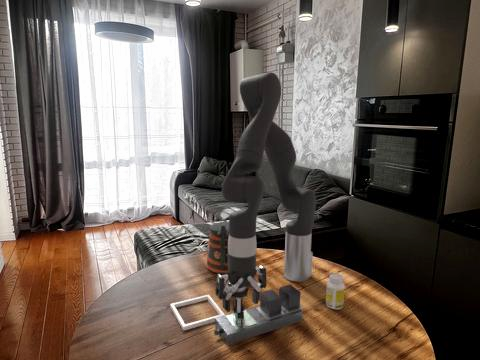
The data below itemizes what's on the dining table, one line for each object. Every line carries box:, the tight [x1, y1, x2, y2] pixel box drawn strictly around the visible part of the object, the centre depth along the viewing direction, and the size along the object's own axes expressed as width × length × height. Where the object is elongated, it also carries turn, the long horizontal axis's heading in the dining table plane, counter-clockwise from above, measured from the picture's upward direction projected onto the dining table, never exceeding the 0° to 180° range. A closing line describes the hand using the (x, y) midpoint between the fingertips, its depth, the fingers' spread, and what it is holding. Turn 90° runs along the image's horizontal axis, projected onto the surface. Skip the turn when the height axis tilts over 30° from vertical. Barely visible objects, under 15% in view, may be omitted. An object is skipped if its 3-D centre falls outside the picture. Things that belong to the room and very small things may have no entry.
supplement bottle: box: [325, 273, 346, 310], centre depth 105 cm, size 5×5×10 cm
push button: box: [231, 285, 249, 326], centre depth 92 cm, size 7×5×10 cm
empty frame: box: [169, 294, 226, 332], centre depth 101 cm, size 13×13×1 cm
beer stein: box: [206, 219, 229, 275], centre depth 128 cm, size 19×15×20 cm
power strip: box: [213, 284, 304, 346], centre depth 95 cm, size 27×8×8 cm, turn 117°
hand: (241, 306), depth 92 cm, fingers open, 8 cm apart
